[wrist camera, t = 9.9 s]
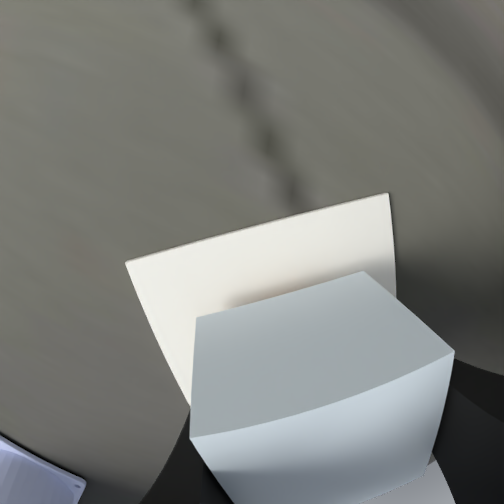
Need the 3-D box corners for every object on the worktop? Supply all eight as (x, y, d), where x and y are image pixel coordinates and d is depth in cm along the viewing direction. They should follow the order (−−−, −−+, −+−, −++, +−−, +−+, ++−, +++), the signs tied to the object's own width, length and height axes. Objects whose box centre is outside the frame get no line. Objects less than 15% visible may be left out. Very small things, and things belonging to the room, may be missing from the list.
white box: (370, 389, 13) (423, 475, 8) (241, 428, 12) (256, 530, 7) (363, 270, 11) (454, 350, 6) (196, 317, 10) (189, 438, 6)
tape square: (392, 382, 15) (394, 384, 15) (208, 436, 14) (208, 439, 14) (385, 192, 11) (388, 193, 11) (126, 261, 11) (125, 262, 11)
